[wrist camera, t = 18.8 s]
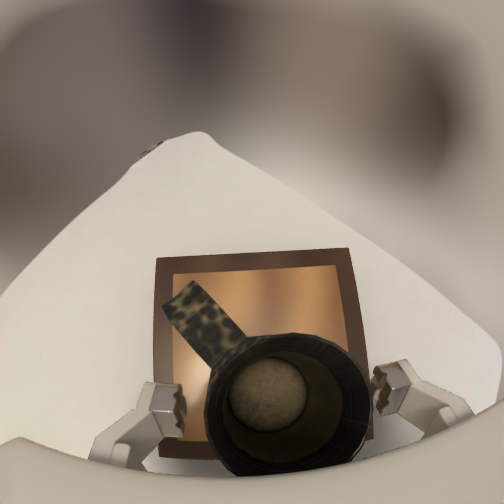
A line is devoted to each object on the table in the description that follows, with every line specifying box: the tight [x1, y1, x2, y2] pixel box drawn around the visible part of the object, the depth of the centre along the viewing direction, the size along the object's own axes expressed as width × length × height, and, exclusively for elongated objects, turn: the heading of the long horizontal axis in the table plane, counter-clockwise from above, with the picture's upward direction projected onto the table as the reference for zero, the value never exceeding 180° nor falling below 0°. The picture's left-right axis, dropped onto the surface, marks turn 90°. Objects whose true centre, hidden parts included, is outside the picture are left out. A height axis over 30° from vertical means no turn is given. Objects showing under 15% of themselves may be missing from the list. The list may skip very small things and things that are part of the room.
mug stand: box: [153, 248, 374, 460], centre depth 20 cm, size 15×15×4 cm
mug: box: [161, 280, 374, 477], centre depth 12 cm, size 8×6×12 cm
